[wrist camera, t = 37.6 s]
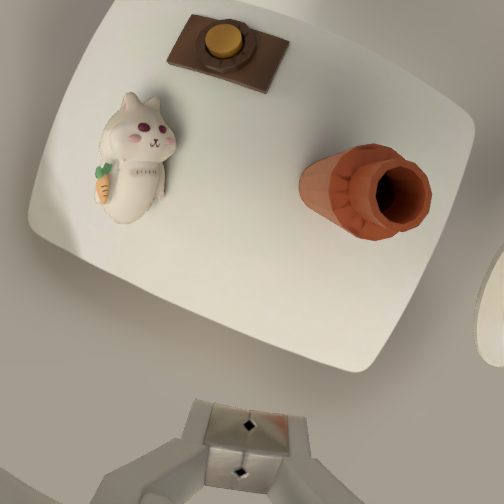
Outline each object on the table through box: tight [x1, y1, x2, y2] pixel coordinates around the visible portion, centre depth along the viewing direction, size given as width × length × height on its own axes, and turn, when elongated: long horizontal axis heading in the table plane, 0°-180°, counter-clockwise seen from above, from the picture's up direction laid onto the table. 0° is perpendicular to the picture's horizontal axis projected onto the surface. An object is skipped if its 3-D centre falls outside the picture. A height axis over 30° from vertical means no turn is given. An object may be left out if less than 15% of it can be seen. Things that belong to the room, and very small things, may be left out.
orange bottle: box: [299, 143, 432, 241], centre depth 25 cm, size 6×6×22 cm
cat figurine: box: [94, 92, 177, 224], centre depth 32 cm, size 10×8×15 cm
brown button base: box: [167, 14, 289, 94], centre depth 31 cm, size 13×8×3 cm, turn 67°
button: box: [205, 24, 243, 58], centre depth 29 cm, size 4×4×2 cm
